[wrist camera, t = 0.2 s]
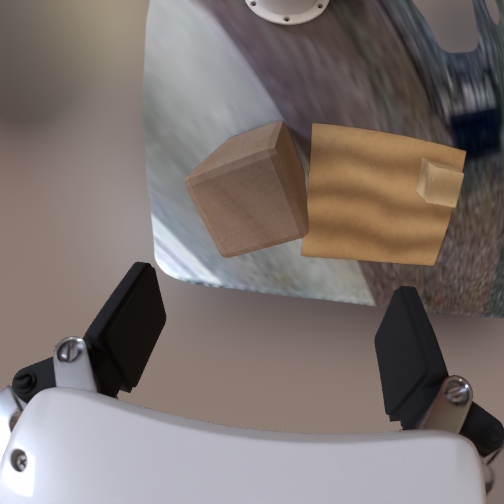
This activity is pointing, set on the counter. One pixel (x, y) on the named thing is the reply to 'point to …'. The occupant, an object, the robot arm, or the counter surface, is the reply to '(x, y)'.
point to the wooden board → (373, 196)
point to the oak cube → (439, 182)
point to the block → (252, 191)
